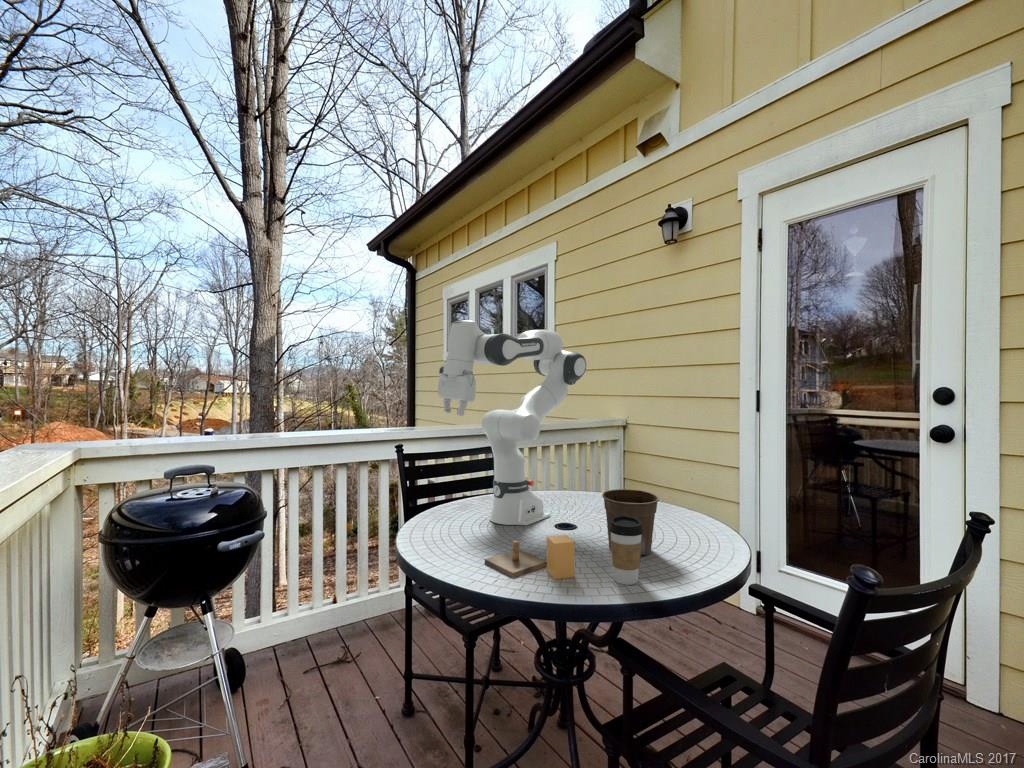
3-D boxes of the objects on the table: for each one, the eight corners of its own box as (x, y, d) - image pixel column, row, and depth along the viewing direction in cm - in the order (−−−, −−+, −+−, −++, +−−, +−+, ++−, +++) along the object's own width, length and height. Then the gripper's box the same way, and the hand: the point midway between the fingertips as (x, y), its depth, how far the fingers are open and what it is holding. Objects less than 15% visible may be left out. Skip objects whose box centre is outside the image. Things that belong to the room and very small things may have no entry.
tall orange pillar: (546, 570, 125) (546, 536, 125) (566, 568, 127) (566, 534, 127) (554, 579, 120) (554, 543, 120) (574, 576, 122) (574, 541, 122)
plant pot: (661, 562, 131) (662, 504, 131) (601, 558, 134) (601, 501, 134) (656, 542, 147) (656, 490, 147) (602, 539, 150) (602, 488, 150)
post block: (518, 553, 138) (518, 531, 138) (547, 565, 129) (547, 542, 129) (484, 563, 130) (484, 540, 130) (512, 577, 121) (512, 553, 121)
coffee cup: (637, 572, 124) (637, 515, 124) (647, 586, 116) (648, 525, 116) (605, 573, 124) (605, 515, 124) (613, 587, 116) (613, 525, 115)
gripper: (483, 372, 144) (477, 418, 143) (453, 371, 161) (449, 412, 161) (464, 369, 140) (459, 416, 140) (436, 368, 158) (431, 410, 157)
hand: (453, 414), depth 151 cm, fingers open, 8 cm apart
